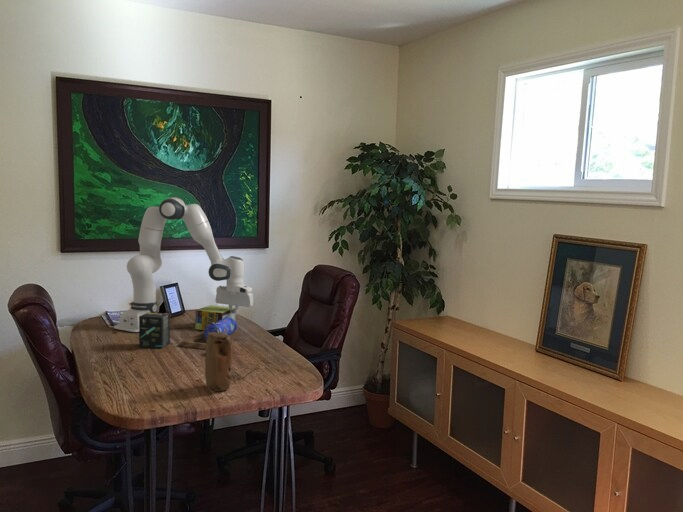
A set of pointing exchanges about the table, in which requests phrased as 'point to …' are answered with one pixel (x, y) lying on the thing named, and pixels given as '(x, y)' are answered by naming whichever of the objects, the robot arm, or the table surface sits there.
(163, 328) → the tampon box
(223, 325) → the pencil case
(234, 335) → the frame
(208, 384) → the block
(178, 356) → the table surface
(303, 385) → the table surface
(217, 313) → the protein box
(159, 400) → the table surface
